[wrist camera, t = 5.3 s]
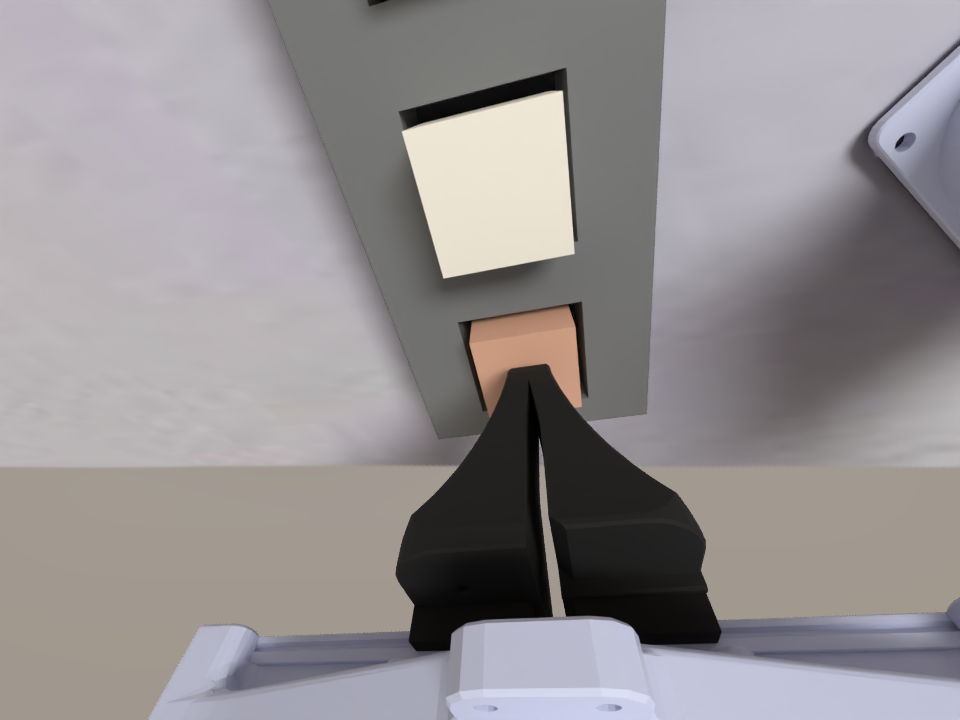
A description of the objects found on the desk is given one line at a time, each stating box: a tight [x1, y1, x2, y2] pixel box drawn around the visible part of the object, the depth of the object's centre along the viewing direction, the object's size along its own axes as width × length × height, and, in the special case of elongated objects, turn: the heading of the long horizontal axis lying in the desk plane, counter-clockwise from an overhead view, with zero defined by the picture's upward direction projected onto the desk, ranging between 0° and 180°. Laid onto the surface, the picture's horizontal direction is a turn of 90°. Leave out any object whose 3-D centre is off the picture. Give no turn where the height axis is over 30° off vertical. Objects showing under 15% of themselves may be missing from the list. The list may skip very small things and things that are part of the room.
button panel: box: [268, 0, 666, 439], centre depth 12 cm, size 20×9×2 cm, turn 12°
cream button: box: [402, 91, 575, 279], centre depth 11 cm, size 4×4×3 cm
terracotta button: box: [469, 304, 582, 418], centre depth 15 cm, size 4×4×3 cm
